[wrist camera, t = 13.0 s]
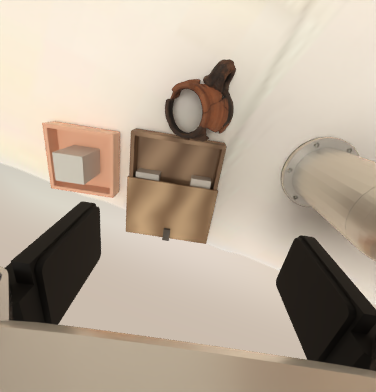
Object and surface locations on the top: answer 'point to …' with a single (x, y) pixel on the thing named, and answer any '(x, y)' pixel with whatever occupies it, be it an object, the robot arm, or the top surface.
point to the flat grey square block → (148, 174)
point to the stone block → (76, 164)
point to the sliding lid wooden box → (172, 186)
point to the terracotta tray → (89, 137)
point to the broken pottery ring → (207, 101)
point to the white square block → (200, 181)
